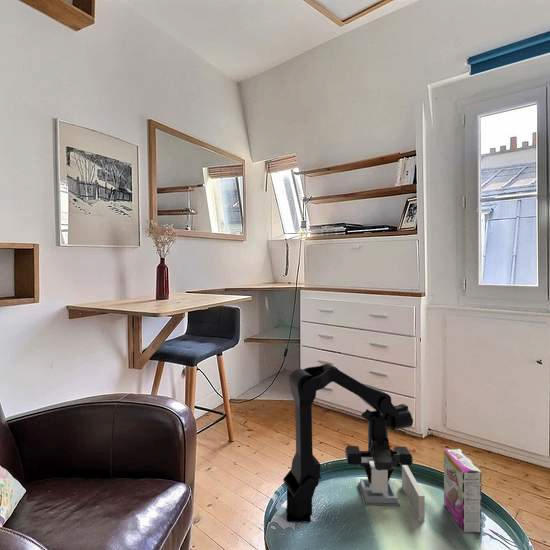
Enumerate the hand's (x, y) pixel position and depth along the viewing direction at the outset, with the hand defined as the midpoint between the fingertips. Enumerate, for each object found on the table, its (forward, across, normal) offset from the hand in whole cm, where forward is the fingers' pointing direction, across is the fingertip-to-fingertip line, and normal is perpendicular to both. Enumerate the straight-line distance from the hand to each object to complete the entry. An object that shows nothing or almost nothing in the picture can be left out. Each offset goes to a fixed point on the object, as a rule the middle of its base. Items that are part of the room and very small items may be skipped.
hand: (378, 483), depth 109 cm
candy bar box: (+4, +20, -10) cm, 22 cm away
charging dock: (+4, 0, 0) cm, 4 cm away
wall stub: (+4, +9, -4) cm, 10 cm away
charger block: (+2, 0, 0) cm, 2 cm away
